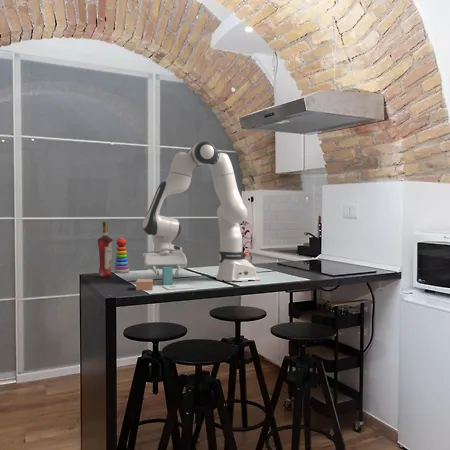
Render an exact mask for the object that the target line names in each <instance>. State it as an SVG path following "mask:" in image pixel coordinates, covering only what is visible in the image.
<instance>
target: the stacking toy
mask: <svg viewBox="0 0 450 450" xmlns="http://www.w3.org/2000/svg"><path fill="white" fill-rule="evenodd" d="M126 243H127V241H126V239H125V238H124V237H119V238H117V240H116V246H117V247H116V250H117V251H116V255H115V262H114V264H115V266H114V273H116V274H126V273H129V272H130V265H129V259H128V255H127V247H126Z"/></svg>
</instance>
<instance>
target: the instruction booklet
mask: <svg viewBox="0 0 450 450" xmlns="http://www.w3.org/2000/svg"><path fill="white" fill-rule="evenodd" d="M161 287H162V288H164V289H166V290H168V291H171V290H172V291H173V290H186V289H187V290H189V289H195V287H194V286H192V285H189V284H187V283H185V284H172V285H161Z"/></svg>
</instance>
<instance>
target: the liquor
mask: <svg viewBox="0 0 450 450" xmlns="http://www.w3.org/2000/svg"><path fill="white" fill-rule="evenodd" d="M108 227H109V222H108V221H102V235H101V237H99V238H98V239H97V254H98V273H97V275H98V276H99V277H100V278H110V276H112V255H113V254H112V253H113V241H114V240H113V238H111V237H109V230H108V229H109V228H108Z"/></svg>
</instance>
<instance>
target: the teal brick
mask: <svg viewBox="0 0 450 450" xmlns="http://www.w3.org/2000/svg"><path fill="white" fill-rule="evenodd" d="M173 271H174V268H172V267H162V271H161V272H162V273H161V275H162V276H161V279H162V280H161V281H162V282H161V285H162V286H167V285H173V281H174V280H173V278H174V277H173V275H174V274H173Z"/></svg>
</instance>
